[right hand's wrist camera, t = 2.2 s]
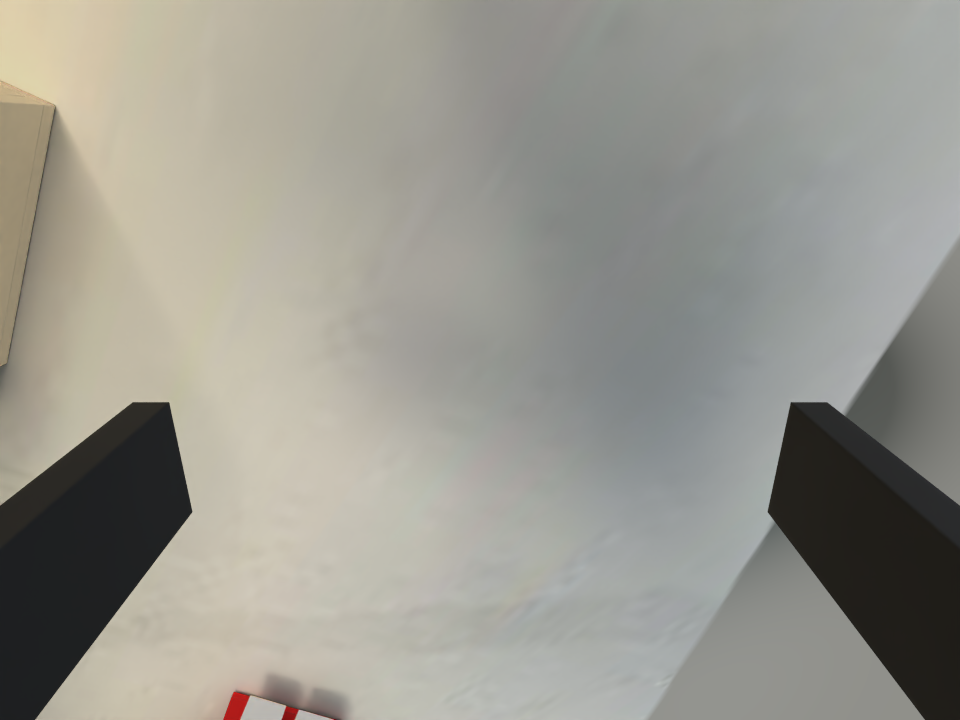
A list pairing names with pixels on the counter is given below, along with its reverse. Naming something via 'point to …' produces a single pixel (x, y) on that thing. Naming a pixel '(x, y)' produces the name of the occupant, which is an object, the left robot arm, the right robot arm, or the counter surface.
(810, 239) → the counter surface
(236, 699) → the toy
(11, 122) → the cabinet
